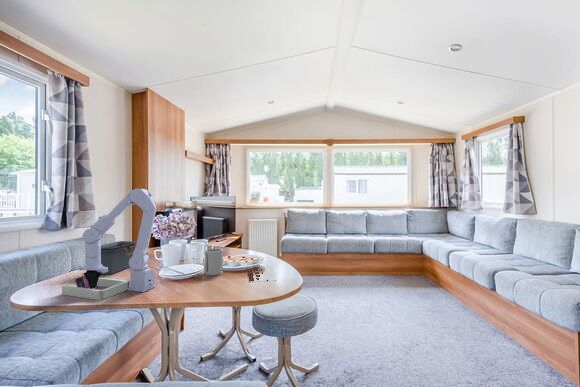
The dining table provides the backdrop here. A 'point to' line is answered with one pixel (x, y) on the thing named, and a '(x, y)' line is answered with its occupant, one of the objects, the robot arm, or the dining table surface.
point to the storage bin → (116, 255)
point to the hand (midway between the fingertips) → (93, 287)
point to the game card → (83, 283)
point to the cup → (213, 261)
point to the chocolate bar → (250, 274)
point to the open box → (113, 289)
